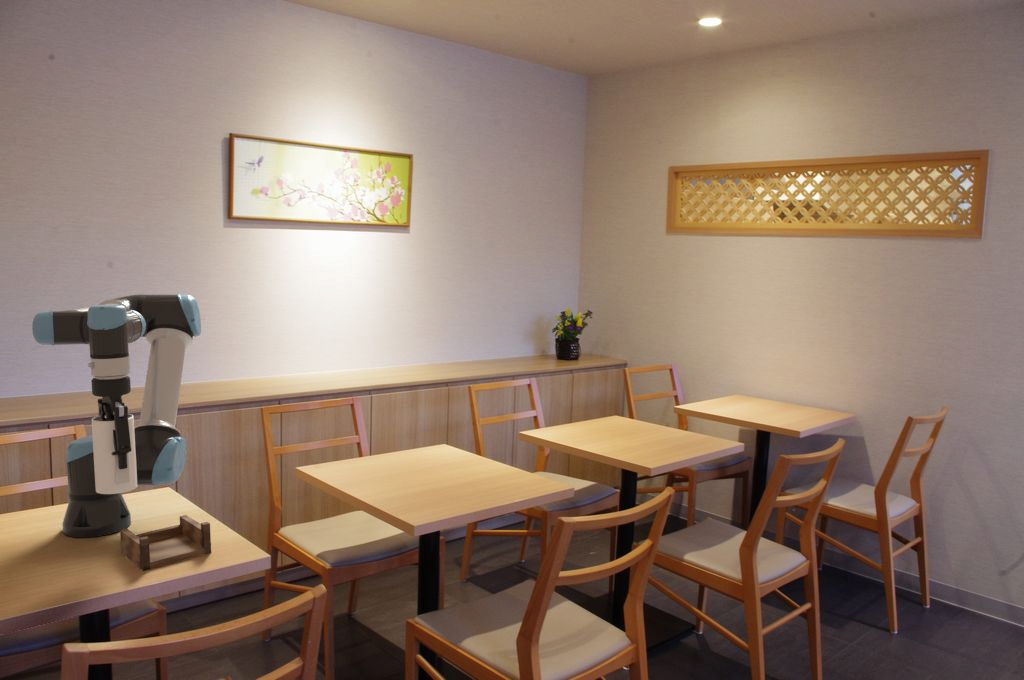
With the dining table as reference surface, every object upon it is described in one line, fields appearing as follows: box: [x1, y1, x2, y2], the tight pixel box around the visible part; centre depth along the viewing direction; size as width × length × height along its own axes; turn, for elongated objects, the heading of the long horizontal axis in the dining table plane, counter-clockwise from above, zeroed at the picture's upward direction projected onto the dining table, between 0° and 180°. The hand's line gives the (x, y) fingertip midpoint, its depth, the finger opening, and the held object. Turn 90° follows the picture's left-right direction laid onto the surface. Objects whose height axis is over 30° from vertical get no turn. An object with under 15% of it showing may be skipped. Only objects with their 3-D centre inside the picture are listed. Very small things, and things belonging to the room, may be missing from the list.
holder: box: [119, 514, 212, 572], centre depth 182 cm, size 14×15×7 cm
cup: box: [91, 413, 138, 494], centre depth 174 cm, size 8×8×16 cm
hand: (116, 478), depth 175 cm, fingers closed on cup, 8 cm apart
